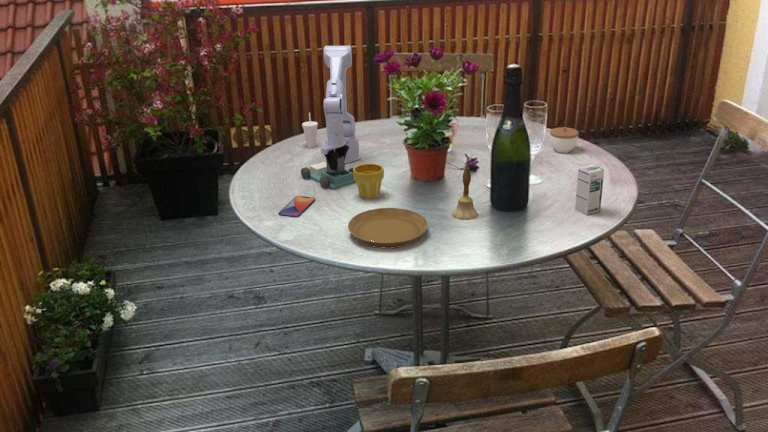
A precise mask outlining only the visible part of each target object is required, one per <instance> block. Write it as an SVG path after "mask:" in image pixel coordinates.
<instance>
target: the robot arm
mask: <svg viewBox="0 0 768 432" xmlns="http://www.w3.org/2000/svg"><path fill="white" fill-rule="evenodd" d="M352 53H353V50H352V46H351V45H350V44H348V45H325V46H324V47H323V61H324V63H325V65H326V67H327V68H329V73H330V78H329V80H327V82H326V87H325V88H326V91H325V98H324V99H323V112H324V117H325V123H326V125H325V126H326V139H327V140H326V141H325V142H324V143H325V145H324V146H323V147H321V149H320V150H321V152H320V154H321V155H323V156H324V157H325V160H326V159H327V161H328V163H329V166H330V169H331V170H336V167H337V157H338V155H342V156H344V163H345V164H348V163H352V162H355V161H359V160H361V157H360V144H359V139H358V138H357V137H356V122H355V121H356V120H355V117H354V116H353V115H352V114H351V113H349V112H348V107H347V106H348V105H347V104H348V102H347V70H348V69H349V68H351V67H352V65H353V59H352V58H353V54H352Z"/></svg>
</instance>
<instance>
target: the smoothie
mask: <svg viewBox="0 0 768 432" xmlns="http://www.w3.org/2000/svg"><path fill="white" fill-rule="evenodd" d="M308 117H309V118H308V120H309V121H305V122H302V124H301V127H302V129H303V133H304V139H305V144H306V147H307V148H309V149H312V148H316V147H317V137H318V134H317V133H318V127H319V123H318V122H317V121H312V119H311V112H308Z"/></svg>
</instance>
